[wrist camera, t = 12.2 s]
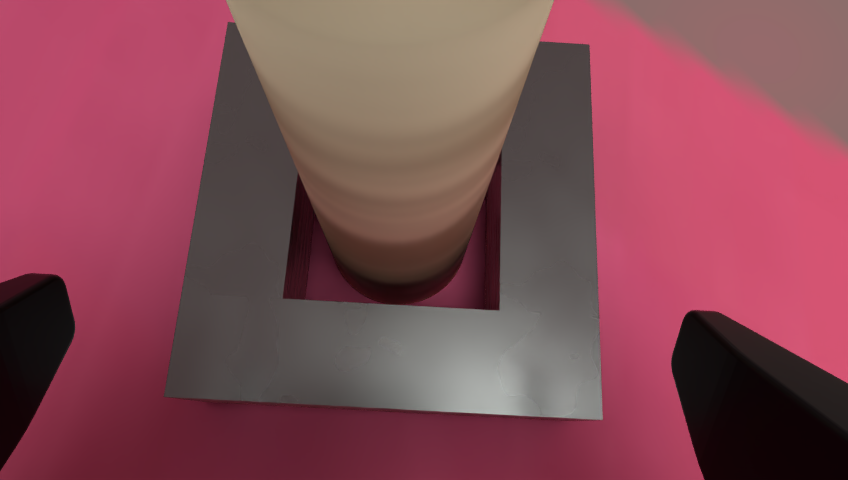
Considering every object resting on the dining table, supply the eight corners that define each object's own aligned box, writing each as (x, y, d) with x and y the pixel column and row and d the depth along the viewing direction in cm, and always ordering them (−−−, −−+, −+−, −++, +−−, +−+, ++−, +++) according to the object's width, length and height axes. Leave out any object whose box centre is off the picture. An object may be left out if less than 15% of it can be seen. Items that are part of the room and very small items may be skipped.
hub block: (568, 420, 17) (605, 419, 14) (205, 401, 17) (160, 396, 14) (562, 99, 20) (591, 40, 17) (254, 81, 20) (225, 17, 16)
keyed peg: (463, 308, 18) (589, 58, 6) (325, 300, 17) (156, 31, 6) (468, 151, 19) (577, -312, 7) (341, 143, 19) (234, -337, 7)
